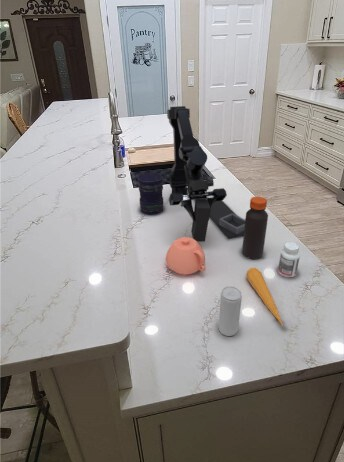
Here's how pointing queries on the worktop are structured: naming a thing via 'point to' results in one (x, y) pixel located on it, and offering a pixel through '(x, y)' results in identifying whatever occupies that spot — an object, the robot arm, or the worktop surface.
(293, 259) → the pill bottle
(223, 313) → the beverage can
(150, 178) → the storage jar
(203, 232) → the pad block
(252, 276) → the carrot
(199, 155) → the robot arm
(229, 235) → the base pad
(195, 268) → the pink dome with handle
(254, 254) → the vinegar
